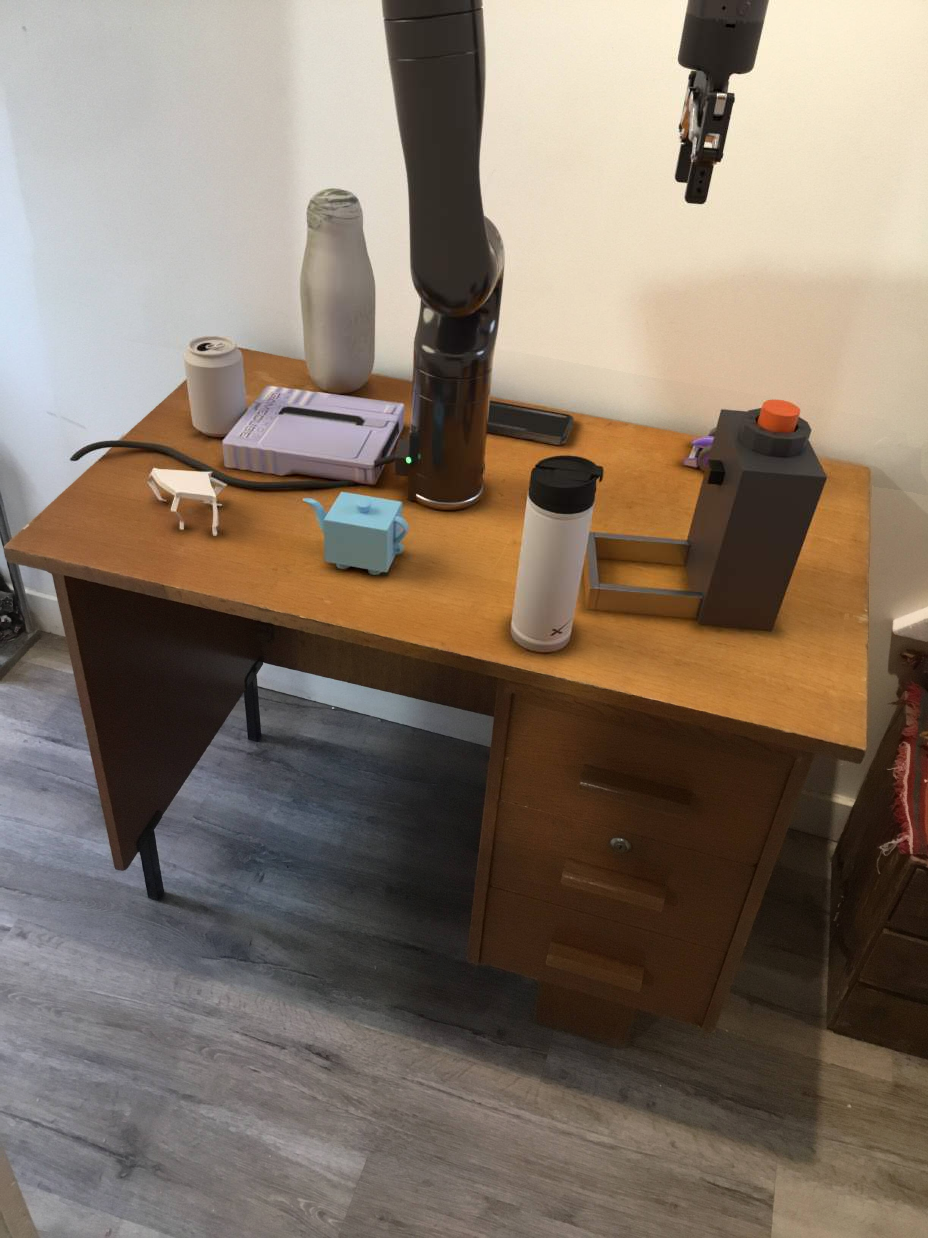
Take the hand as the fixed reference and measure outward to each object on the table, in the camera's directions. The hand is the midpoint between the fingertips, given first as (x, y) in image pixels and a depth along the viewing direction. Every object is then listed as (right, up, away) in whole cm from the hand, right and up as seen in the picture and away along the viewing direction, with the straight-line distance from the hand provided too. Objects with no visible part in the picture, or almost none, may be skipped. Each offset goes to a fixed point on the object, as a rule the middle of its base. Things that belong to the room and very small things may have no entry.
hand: (689, 191), depth 98 cm
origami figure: (-57, -34, +11) cm, 67 cm away
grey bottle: (-43, -11, +39) cm, 59 cm away
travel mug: (-16, -48, -3) cm, 50 cm away
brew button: (+7, -27, -8) cm, 29 cm away
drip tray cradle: (-5, -42, +5) cm, 43 cm away
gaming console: (-44, -23, +25) cm, 56 cm away
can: (-58, -20, +28) cm, 67 cm away
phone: (-16, -18, +34) cm, 42 cm away
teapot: (-36, -39, +6) cm, 54 cm away
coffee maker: (+5, -43, +5) cm, 43 cm away
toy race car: (+14, -25, +28) cm, 40 cm away
